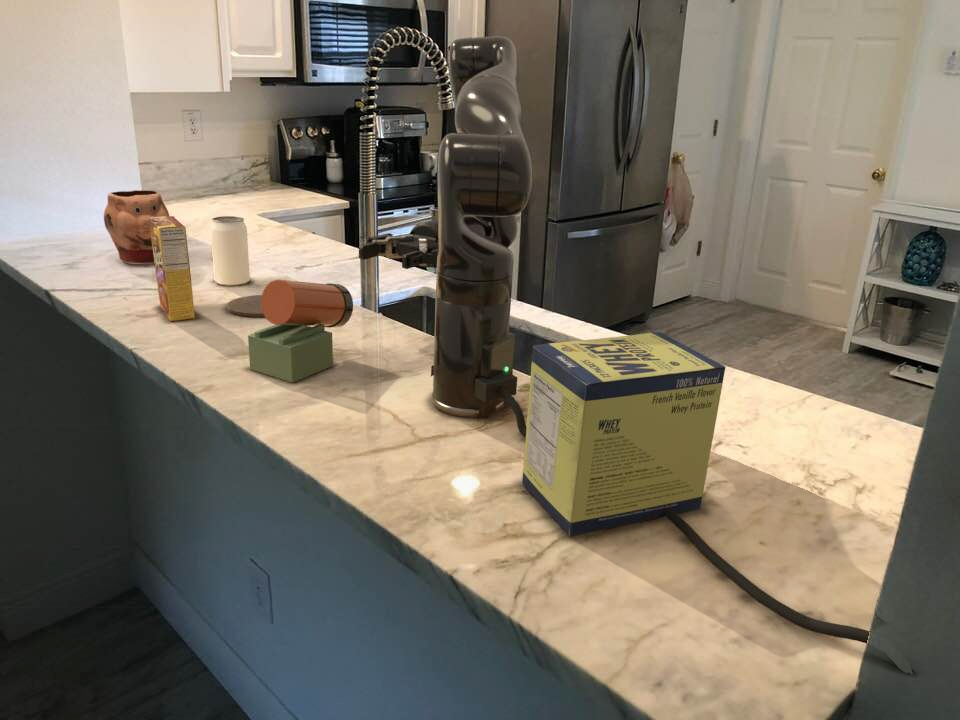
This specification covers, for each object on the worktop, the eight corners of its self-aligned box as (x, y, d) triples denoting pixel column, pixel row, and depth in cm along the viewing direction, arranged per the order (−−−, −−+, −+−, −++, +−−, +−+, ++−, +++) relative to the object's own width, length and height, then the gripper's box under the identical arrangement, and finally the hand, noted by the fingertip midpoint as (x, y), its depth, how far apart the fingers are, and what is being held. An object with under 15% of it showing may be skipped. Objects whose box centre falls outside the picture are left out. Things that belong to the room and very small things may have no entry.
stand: (333, 365, 107) (332, 326, 105) (292, 383, 101) (290, 342, 99) (291, 353, 111) (290, 315, 109) (249, 369, 105) (247, 329, 103)
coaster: (306, 306, 133) (306, 302, 133) (259, 321, 124) (259, 317, 124) (261, 294, 138) (261, 291, 138) (213, 308, 129) (212, 304, 129)
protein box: (703, 509, 76) (729, 364, 71) (568, 539, 70) (584, 383, 65) (643, 461, 85) (661, 330, 80) (518, 484, 79) (529, 343, 74)
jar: (315, 322, 113) (323, 280, 112) (348, 332, 110) (356, 288, 109) (256, 320, 103) (264, 273, 102) (291, 331, 100) (299, 283, 99)
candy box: (157, 306, 129) (147, 216, 123) (184, 304, 131) (175, 215, 125) (167, 322, 121) (157, 227, 116) (195, 318, 124) (187, 225, 118)
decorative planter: (94, 252, 161) (85, 186, 156) (152, 246, 169) (146, 182, 164) (128, 273, 147) (120, 200, 142) (190, 265, 155) (184, 196, 150)
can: (239, 287, 142) (235, 223, 137) (207, 284, 143) (202, 220, 138) (256, 279, 148) (252, 217, 143) (225, 276, 149) (221, 214, 144)
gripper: (407, 213, 133) (346, 226, 120) (476, 225, 126) (419, 240, 113) (407, 255, 136) (346, 273, 123) (474, 269, 129) (418, 289, 116)
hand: (381, 257), depth 118 cm, fingers open, 8 cm apart
